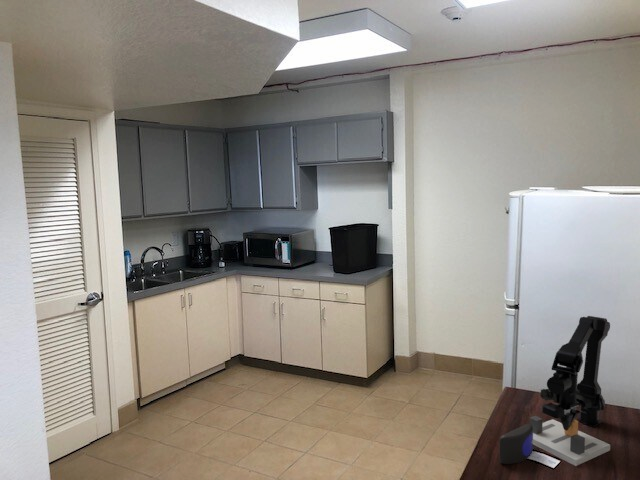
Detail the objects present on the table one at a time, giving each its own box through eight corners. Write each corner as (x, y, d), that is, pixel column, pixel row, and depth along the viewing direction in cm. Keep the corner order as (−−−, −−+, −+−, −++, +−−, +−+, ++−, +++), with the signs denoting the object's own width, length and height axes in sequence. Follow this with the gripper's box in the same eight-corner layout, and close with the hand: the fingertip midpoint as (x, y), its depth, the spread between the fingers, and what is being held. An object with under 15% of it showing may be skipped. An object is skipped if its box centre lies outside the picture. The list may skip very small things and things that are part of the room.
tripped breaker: (570, 431, 183) (570, 417, 183) (577, 434, 181) (578, 420, 180) (564, 433, 182) (564, 419, 181) (572, 437, 179) (572, 423, 179)
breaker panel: (552, 424, 194) (552, 406, 193) (610, 450, 174) (610, 430, 174) (519, 437, 185) (519, 418, 184) (575, 466, 166) (576, 445, 165)
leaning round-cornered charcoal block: (509, 469, 165) (510, 441, 164) (497, 463, 169) (497, 435, 168) (540, 453, 174) (541, 426, 173) (528, 447, 178) (528, 421, 177)
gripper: (564, 373, 190) (562, 415, 191) (529, 383, 180) (527, 426, 182) (593, 384, 180) (590, 427, 181) (557, 394, 171) (555, 440, 172)
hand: (565, 430), depth 180 cm, fingers closed
